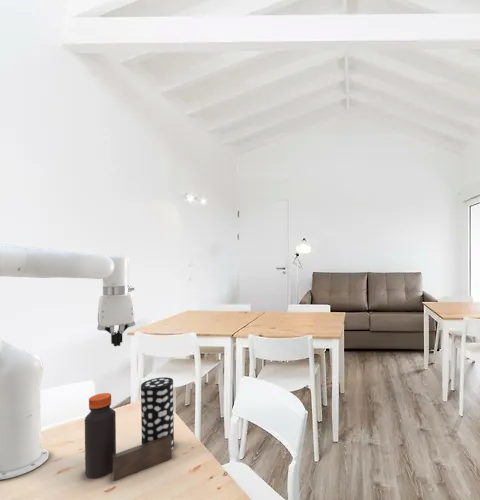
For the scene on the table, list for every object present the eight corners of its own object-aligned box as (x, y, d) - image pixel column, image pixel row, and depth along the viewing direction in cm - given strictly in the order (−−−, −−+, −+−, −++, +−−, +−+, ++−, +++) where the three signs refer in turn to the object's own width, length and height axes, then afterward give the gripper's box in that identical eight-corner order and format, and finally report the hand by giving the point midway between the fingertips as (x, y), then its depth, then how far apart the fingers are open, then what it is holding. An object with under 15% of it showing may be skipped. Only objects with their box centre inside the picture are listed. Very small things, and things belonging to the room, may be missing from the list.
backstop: (113, 481, 91) (113, 458, 90) (111, 477, 92) (111, 454, 92) (171, 458, 100) (171, 437, 100) (169, 455, 102) (169, 434, 102)
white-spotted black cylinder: (165, 457, 100) (164, 388, 100) (135, 458, 100) (134, 388, 100) (178, 441, 109) (178, 377, 109) (151, 442, 109) (150, 377, 108)
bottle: (113, 474, 93) (112, 399, 93) (81, 481, 91) (80, 404, 90) (118, 460, 99) (117, 389, 99) (89, 466, 97) (88, 393, 97)
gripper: (139, 288, 127) (139, 339, 127) (87, 292, 117) (88, 347, 117) (144, 290, 122) (144, 343, 122) (90, 294, 112) (90, 352, 112)
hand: (116, 345), depth 120 cm, fingers closed
